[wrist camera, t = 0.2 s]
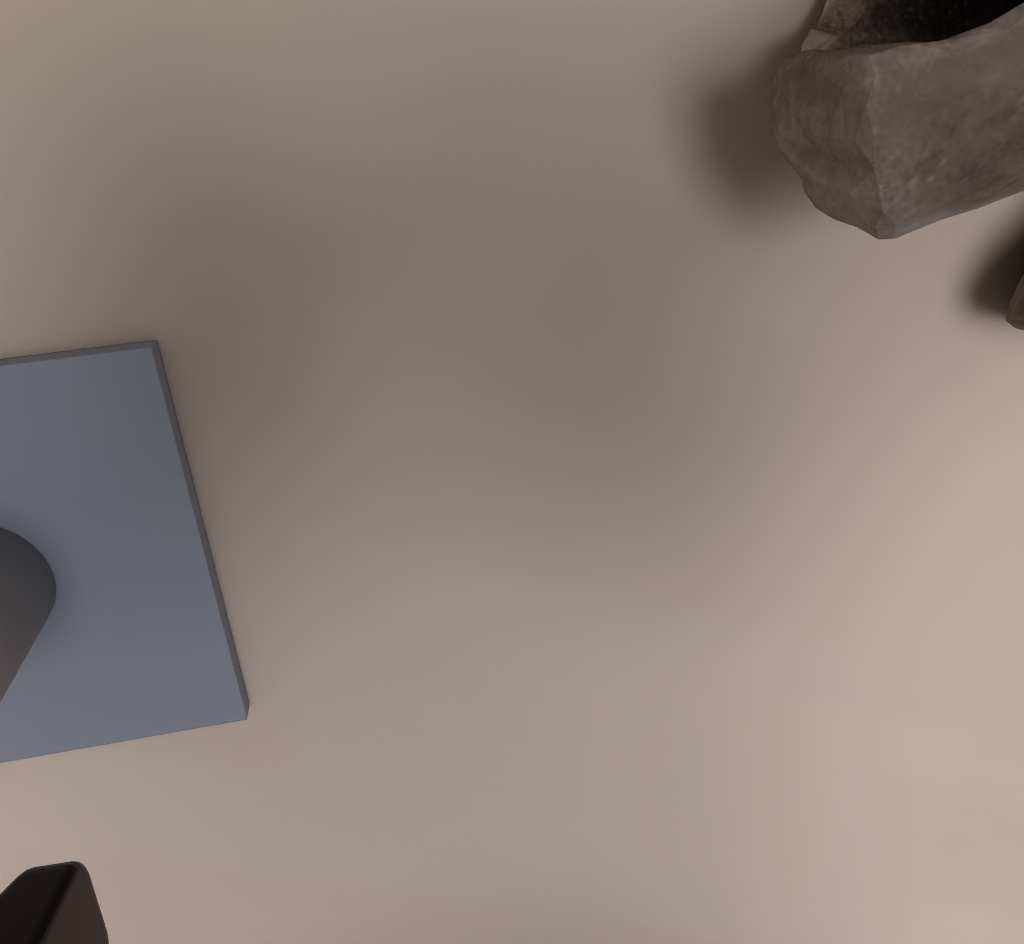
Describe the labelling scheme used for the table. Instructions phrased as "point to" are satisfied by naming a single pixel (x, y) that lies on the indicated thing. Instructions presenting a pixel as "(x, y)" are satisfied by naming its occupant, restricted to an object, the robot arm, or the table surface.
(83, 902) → the robot arm
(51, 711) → the grey peg stand
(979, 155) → the animal shaped planter
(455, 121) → the table surface
